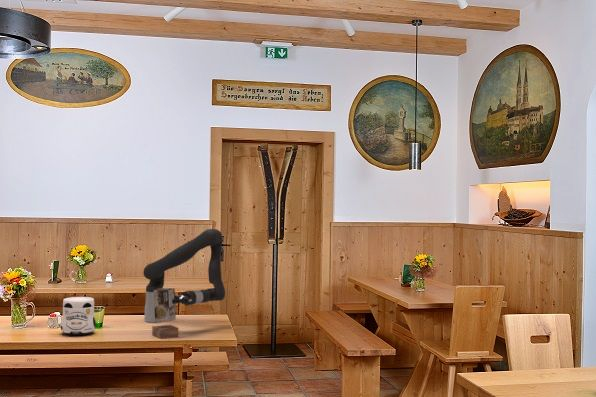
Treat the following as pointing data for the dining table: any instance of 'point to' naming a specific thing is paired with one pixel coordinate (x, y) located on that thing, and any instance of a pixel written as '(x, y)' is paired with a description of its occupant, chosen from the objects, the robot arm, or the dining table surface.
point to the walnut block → (165, 331)
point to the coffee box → (164, 304)
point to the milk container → (78, 316)
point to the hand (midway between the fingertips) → (167, 300)
